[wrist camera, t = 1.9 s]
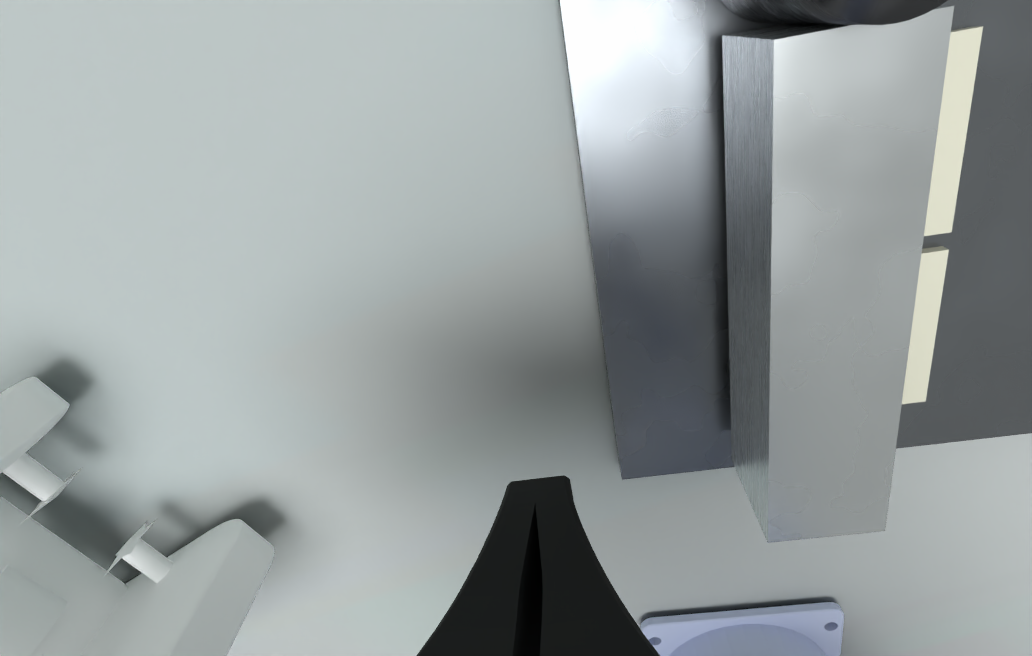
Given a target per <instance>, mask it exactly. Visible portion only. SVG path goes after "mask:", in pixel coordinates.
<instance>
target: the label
mask: <svg viewBox="0 0 1032 656" xmlns="http://www.w3.org/2000/svg"><path fill="white" fill-rule="evenodd" d="M948 252H949V249H947V248H945V247H943V246H939V247H932V248H925V249H922V254H921V261H920V269H919V277H918V284H917V292H916V299H915V307H914V314H913V322H912V330H911V337H910V345H909V352H908V360H907V368H906V375H905V383H904V390H903V398H902V404H909V403H917V402H925V401H926V396H927V389H928V383H929V376H930V370H931V363H932V357H933V350H934V344H935V337H936V331H937V324H938V318H939V311H940V305H941V298H942V292H943V285H944V278H945V272H946V265H947V259H948Z"/></svg>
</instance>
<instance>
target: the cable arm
mask: <svg viewBox="0 0 1032 656" xmlns="http://www.w3.org/2000/svg"><path fill="white" fill-rule="evenodd" d="M721 1H722V2H723V3H724V4H725V5H726V6H727V8H728V9H729V10H731V11H732V12H733V13H735V14H736V15H738V16H740V17H742V18H743V19H746V20H749V21H752V22H757V23H781V24H779V25H774V26H769V27H763V28H758V29H753V30H748V31H743V32H737V33H732V34H727V35H722V51H723V95H724V140H725V184H726V228H727V273H728V317H729V361H730V406H731V450H732V462H733V464H734V467H735V469H736V471H737V473H738V476H739V478H740V480H741V483H742V485H743V487H744V489H745V492H746V494H747V496H748V499H749V501H750V503H751V505H752V508H753V510H754V512H755V515H756V517H757V519H758V522H759V524H760V526H761V528H762V531H763V533H764V535H765V538H766V540H767V542H768V543H769V542H779V541H789V540H799V539H809V538H819V537H829V536H839V535H849V534H859V533H870V532H880V531H885V527H886V519H887V512H888V504H889V496H890V489H891V481H892V474H893V466H894V458H895V451H896V443H897V436H898V428H899V421H900V413H901V405H902V398H903V390H904V383H905V375H906V368H907V360H908V352H909V345H910V337H911V330H912V322H913V314H914V307H915V299H916V292H917V284H918V277H919V269H920V261H921V254H922V246H923V239H924V231H925V224H926V216H927V208H928V201H929V193H930V186H931V178H932V170H933V163H934V155H935V148H936V140H937V133H938V125H939V117H940V110H941V102H942V95H943V87H944V79H945V72H946V64H947V57H948V49H949V42H950V34H951V26H952V19H953V11H954V6H940V5H942V4H943V3H945V2H946V1H948V0H721Z"/></svg>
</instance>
